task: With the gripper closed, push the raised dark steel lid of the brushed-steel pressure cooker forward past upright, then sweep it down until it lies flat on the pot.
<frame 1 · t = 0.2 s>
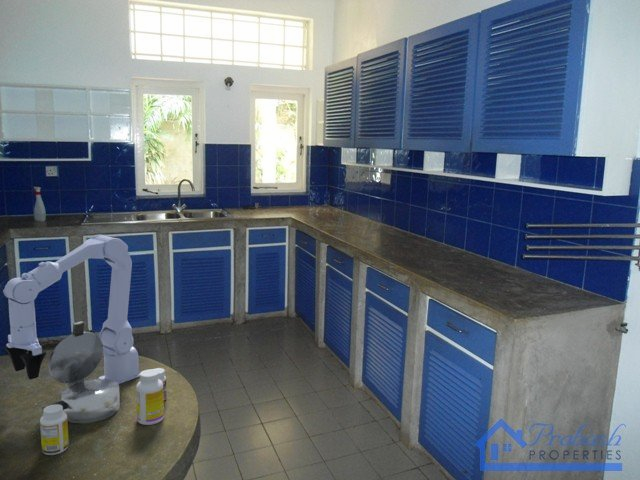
hand: (26, 373, 134), 10 cm above the table, tool pointing down, fingers open, 7 cm apart
cooker lid: (77, 353, 138), point 14 cm above the table, hinge at 80.0°
pill bottle: (157, 399, 143), on the table
supplement bottle: (150, 420, 132), on the table
cooker pot: (91, 409, 136), on the table
supplement bottle 2: (55, 450, 118), on the table
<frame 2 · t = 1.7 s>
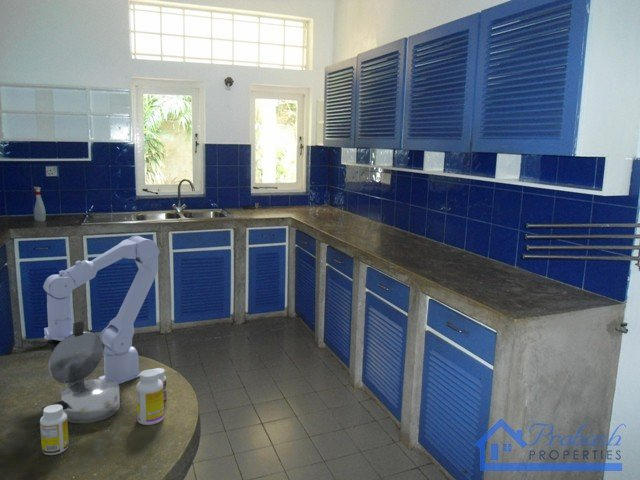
hand: (61, 364, 144), 9 cm above the table, tool pointing down, fingers closed
nothing on the table moved.
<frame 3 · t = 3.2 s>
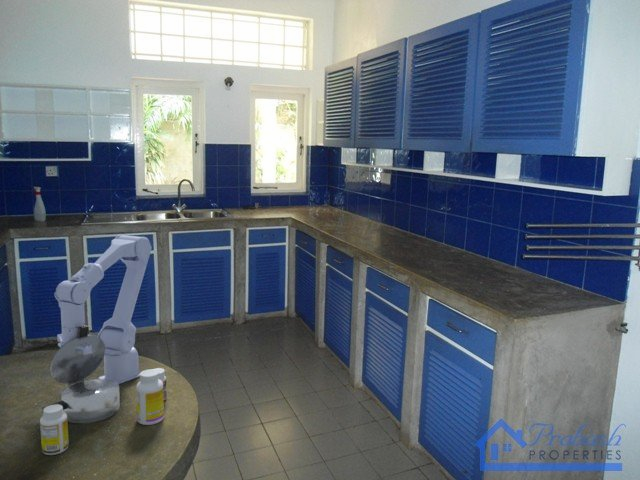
hand: (75, 372, 139), 8 cm above the table, tool pointing down, fingers closed, pressing on cooker lid
cooker lid: (79, 355, 137), point 14 cm above the table, hinge at 72.1°, touching gripper
everything else where it was.
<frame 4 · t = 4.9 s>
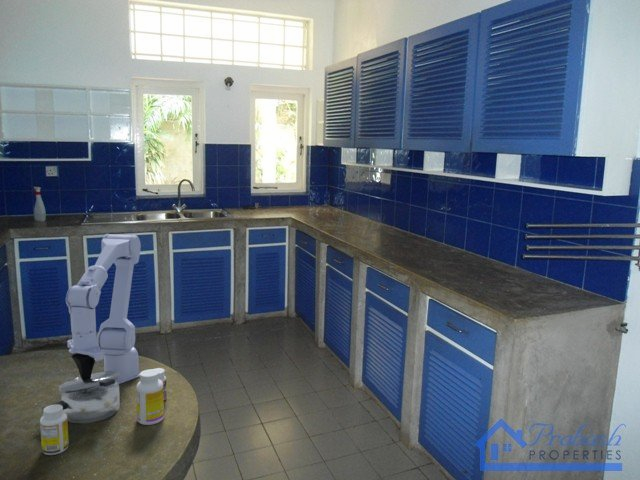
hand: (86, 379, 136), 8 cm above the table, tool pointing down, fingers closed, pressing on cooker lid
cooker lid: (92, 381, 134), point 8 cm above the table, hinge at 14.5°, touching gripper
everything else where it was.
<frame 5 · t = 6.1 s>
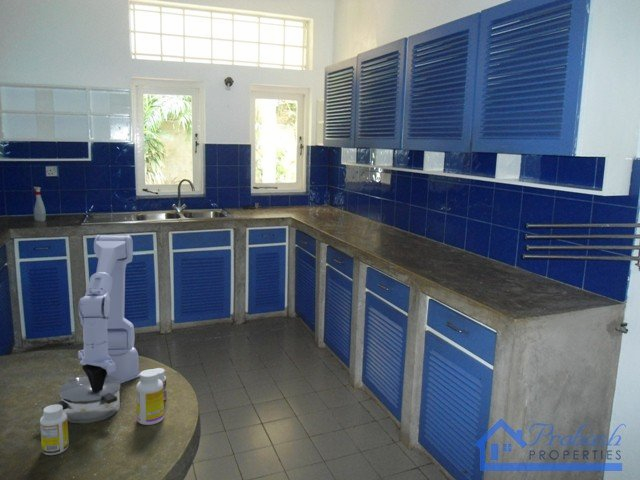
hand: (97, 390, 133), 7 cm above the table, tool pointing down, fingers closed, pressing on cooker lid
cooker lid: (93, 389, 134), point 6 cm above the table, hinge at -0.3°, touching gripper
everything else where it was.
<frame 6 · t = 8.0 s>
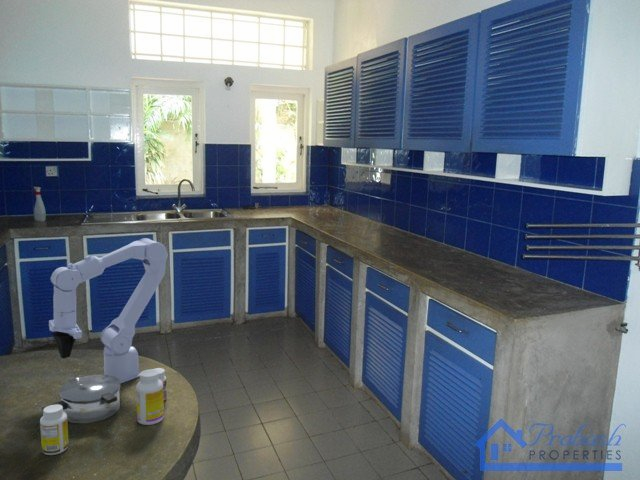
hand: (65, 356, 144), 10 cm above the table, tool pointing down, fingers closed
cooker lid: (93, 389, 134), point 6 cm above the table, hinge at -0.4°
everything else where it was.
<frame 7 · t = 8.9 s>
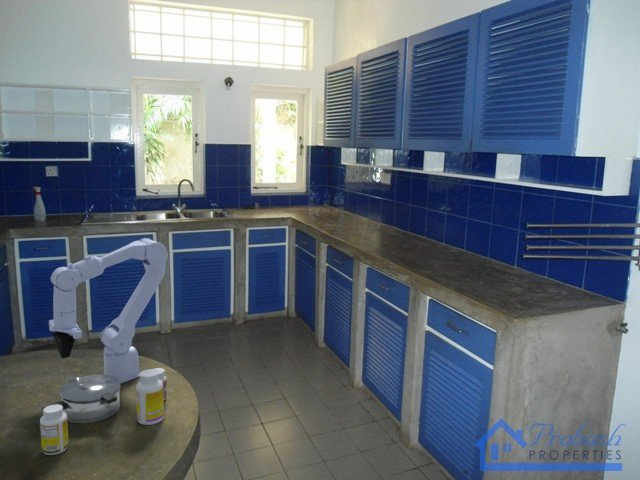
hand: (65, 356, 144), 10 cm above the table, tool pointing down, fingers closed
nothing on the table moved.
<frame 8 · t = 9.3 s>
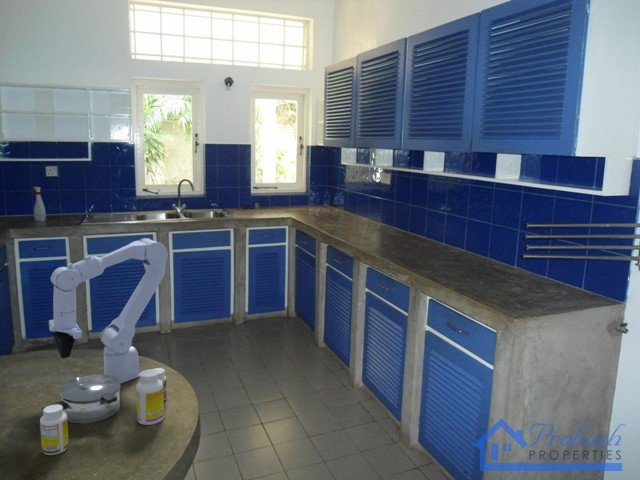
hand: (65, 356, 144), 10 cm above the table, tool pointing down, fingers closed
nothing on the table moved.
at the end: cooker lid at +0° (first picture: +80°); supplement bottle 2 moved 0.2 cm from its start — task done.
